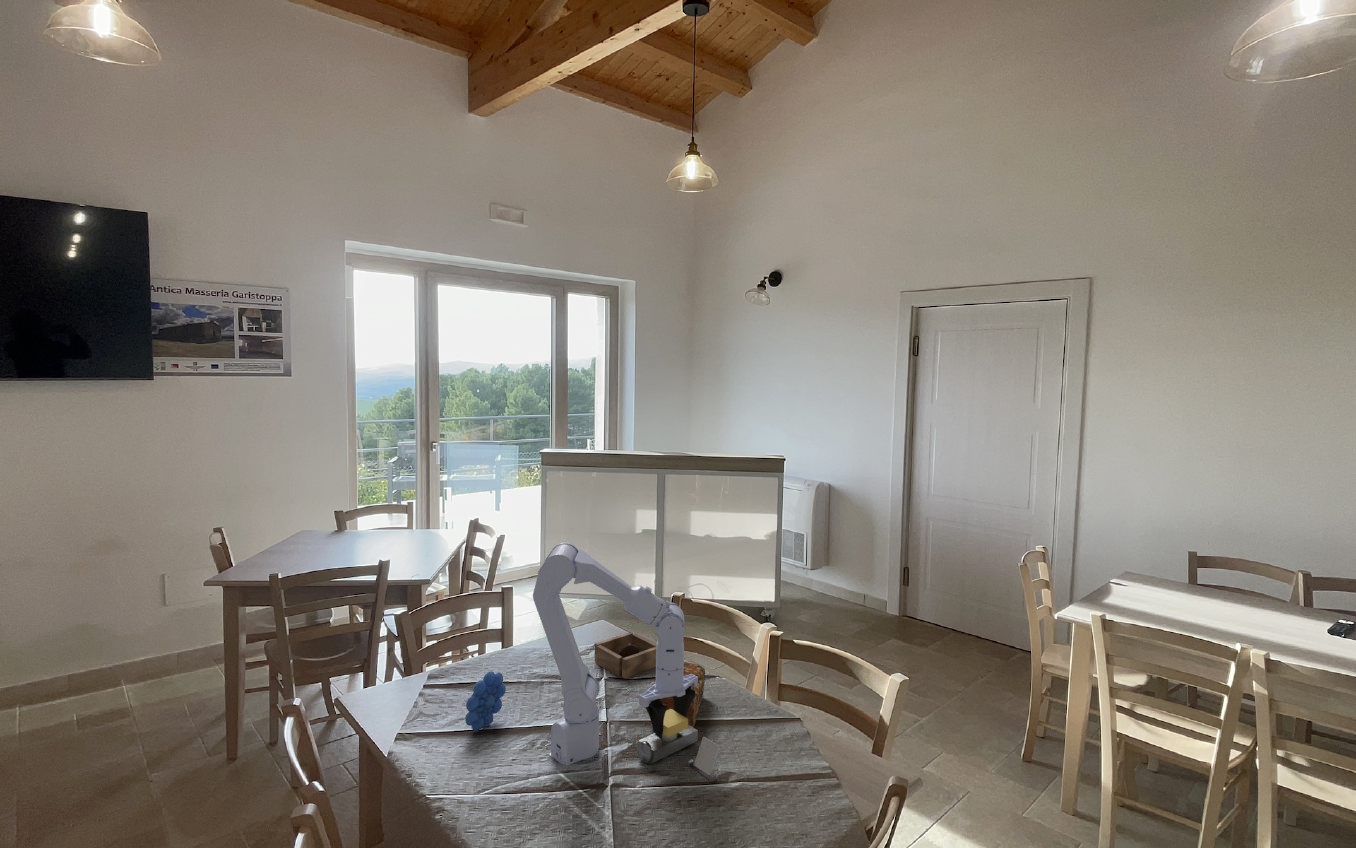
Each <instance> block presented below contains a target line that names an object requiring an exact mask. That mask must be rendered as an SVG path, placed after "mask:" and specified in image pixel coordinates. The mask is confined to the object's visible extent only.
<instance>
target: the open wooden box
mask: <svg viewBox="0 0 1356 848" xmlns="http://www.w3.org/2000/svg"><path fill="white" fill-rule="evenodd" d="M629 643H630V644H633V645H636V646H637V647H638V648H639V650H640V652H639V653H636V654H633V655H631V656H628V657H625V658H623V657H622V656H620V655H618V652H619V650H620V649H621V648H622V647H623V646H625V645H628V644H629ZM656 643H657V642H654V641H652V640H650V639H648V638H646V637H643V636H642V635H640V634H638V633H633V632H627V633H623V634H620V635H616V636H614V637H611V638H610V637H609V638H607V639H603V640H602V641H598V642H594V662H595V663H596V665H598V666H599V667H601V668H603V669H605V670H606V671H608V672H610V673H611V674H613V675H615V676H616V677H618V678H619V677H621V678H623V679H628V678H631V677H633V676H636V675H639V674H641V673H643V672H646V671H649V670H652V669H654V668H655V669H656Z"/></svg>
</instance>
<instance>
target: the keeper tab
mask: <svg viewBox="0 0 1356 848" xmlns="http://www.w3.org/2000/svg"><path fill="white" fill-rule="evenodd" d="M720 748H721V745H719V744H718V743H715V742H714V741H712V740H710V739H709V738H708V737H706V736H702V739H701V741H700V744H699V748H698V751H697V755H696V758H695V760H694V764H691V766H690V767H689V768H691V769H692V770H695V772H697V773H698V774H700V775H702V776H703V777H705V778H706V779H708V780H709V781H710V776H712V775H713V774H712V773H713V771H714V768H715V767H714V766H715V764H716V760H717V759H718V758H717V757H718V755H719V752H720Z"/></svg>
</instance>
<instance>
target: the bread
mask: <svg viewBox="0 0 1356 848" xmlns="http://www.w3.org/2000/svg"><path fill="white" fill-rule="evenodd" d="M690 674H693V675H695V676H697V677H698V686H695V687H694V686H691V689H692V690H694V691H695V698H694V699H693V701H692V702H691V704H690V706H689V709H688V712H687V715H686V718H687V719H688V725H690V726H692V727H693V728H695V724H696V721H697V717H698V713H699V710H700V705H701V703H702V700H703V697H704V696H703V695H704V689H705V680H706V679H705V678H706V669H705V667H703V666H702V665H701V664H697V663H696V664H695V663H693V662H686V661H684V676H686V675H690ZM661 702H662V704H663V705H665V706H667V710H669V709H672V710H674V699H673V696H671V697H666V698H662V699H661ZM667 710H666V711H667Z"/></svg>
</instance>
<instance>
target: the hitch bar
mask: <svg viewBox="0 0 1356 848" xmlns="http://www.w3.org/2000/svg"><path fill="white" fill-rule="evenodd" d="M698 732H699V731H698V729H696V728H695V727H692V726H690V725H688V729H685V730H683V731H681V732H679V733H677V739H675V740H673V741H671V742H669V743H667V742H665V741H663V740H662V735H660V736H659V735H657V734H656V733H654V732H653V733H652V734H649V735H648V736H647V735H646V736H645V737H643V738H641V739H638V743H637V745H636V753H637V756H638V758H639V760H640V761H641V763H643V764H647V763H648V764H649V765H653V764H654V763H656V762H658V761H660V760H661V759H663V758H666V757H668V756H670V755H672V754H674V753H676V752H678V751H680V750H682V749H684V748H686V747H689V746H691V745H693V744H694V743H696V742H698V737H699V736H698ZM694 763H695V760H693V759H690V760H688V761H687V763H686V764H687V765H686V766H687V767H689V768H691V767H690V766H691V764H694ZM717 778H718V777H717V774H715V773H714V774H711V776H710V780H709V781H710V782H711V783H713V782H715V781H717Z"/></svg>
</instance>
